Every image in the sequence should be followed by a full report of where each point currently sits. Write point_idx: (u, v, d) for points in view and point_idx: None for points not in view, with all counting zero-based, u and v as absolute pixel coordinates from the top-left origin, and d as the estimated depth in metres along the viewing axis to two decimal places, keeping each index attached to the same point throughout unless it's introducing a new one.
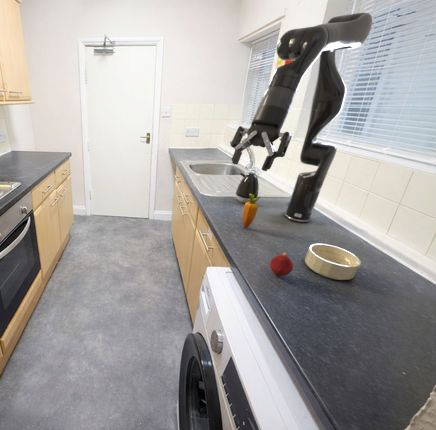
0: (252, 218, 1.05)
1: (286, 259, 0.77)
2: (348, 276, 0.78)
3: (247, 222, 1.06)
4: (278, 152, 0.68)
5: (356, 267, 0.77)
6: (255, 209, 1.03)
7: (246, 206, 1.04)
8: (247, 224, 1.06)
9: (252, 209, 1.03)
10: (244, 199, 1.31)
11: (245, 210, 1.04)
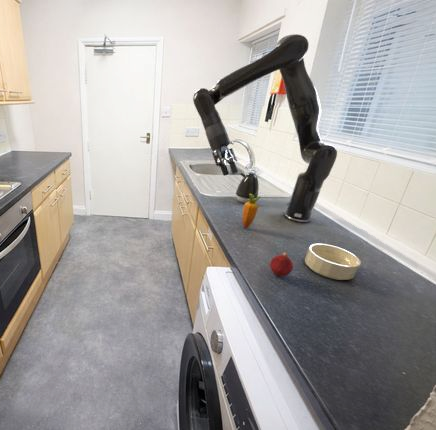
0: (252, 218, 1.05)
1: (286, 259, 0.77)
2: (348, 276, 0.78)
3: (247, 222, 1.06)
4: None
5: (356, 267, 0.77)
6: (255, 209, 1.03)
7: (246, 206, 1.04)
8: (247, 224, 1.06)
9: (252, 209, 1.03)
10: (244, 199, 1.31)
11: (245, 210, 1.04)
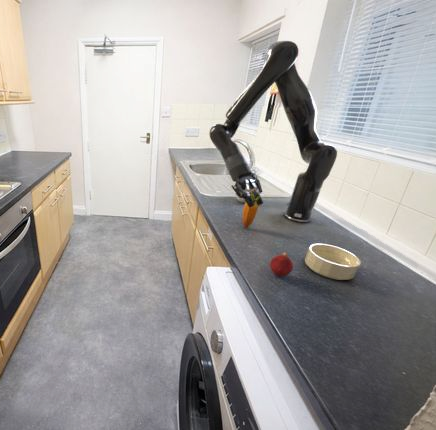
0: (252, 218, 1.05)
1: (286, 259, 0.77)
2: (348, 276, 0.78)
3: (247, 222, 1.06)
4: None
5: (356, 267, 0.77)
6: (255, 209, 1.03)
7: (246, 206, 1.04)
8: (247, 224, 1.06)
9: (252, 209, 1.03)
10: (244, 199, 1.31)
11: (245, 210, 1.04)
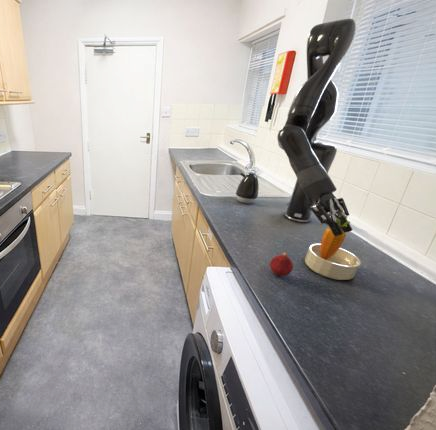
0: (336, 249, 0.80)
1: (286, 259, 0.77)
2: (348, 276, 0.78)
3: (328, 253, 0.81)
4: None
5: (356, 267, 0.77)
6: (342, 238, 0.78)
7: (329, 234, 0.79)
8: (328, 256, 0.82)
9: (339, 238, 0.78)
10: (244, 199, 1.31)
11: (327, 239, 0.80)
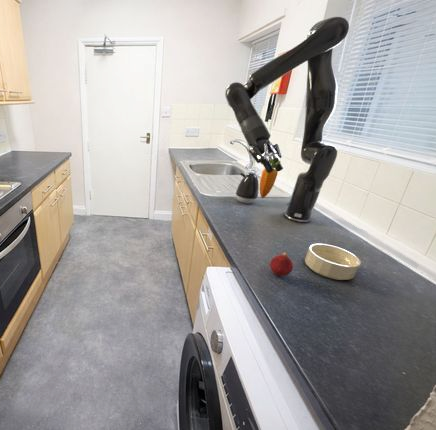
0: (271, 186, 0.96)
1: (286, 259, 0.77)
2: (348, 276, 0.78)
3: (265, 190, 0.97)
4: None
5: (356, 267, 0.77)
6: (274, 175, 0.94)
7: (264, 172, 0.95)
8: (265, 192, 0.97)
9: (271, 175, 0.94)
10: (244, 199, 1.31)
11: (263, 177, 0.95)
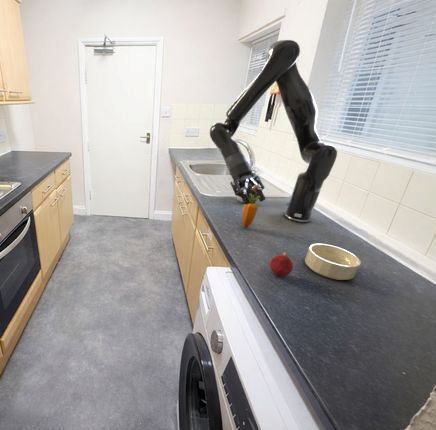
0: (252, 218, 1.05)
1: (286, 259, 0.77)
2: (348, 276, 0.78)
3: (247, 222, 1.06)
4: None
5: (356, 267, 0.77)
6: (255, 209, 1.03)
7: (246, 206, 1.04)
8: (247, 224, 1.06)
9: (252, 209, 1.03)
10: None
11: (245, 210, 1.05)
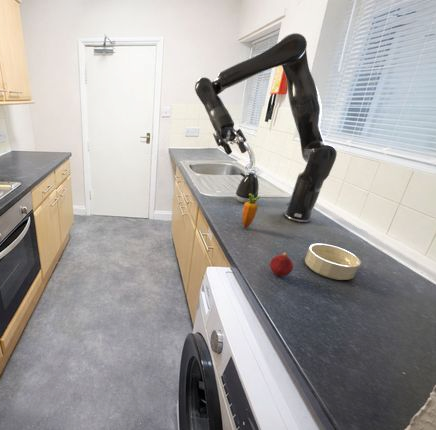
0: (252, 218, 1.05)
1: (286, 259, 0.77)
2: (348, 276, 0.78)
3: (247, 222, 1.06)
4: None
5: (356, 267, 0.77)
6: (255, 209, 1.03)
7: (246, 206, 1.04)
8: (247, 224, 1.06)
9: (252, 209, 1.03)
10: (244, 199, 1.31)
11: (245, 210, 1.05)
